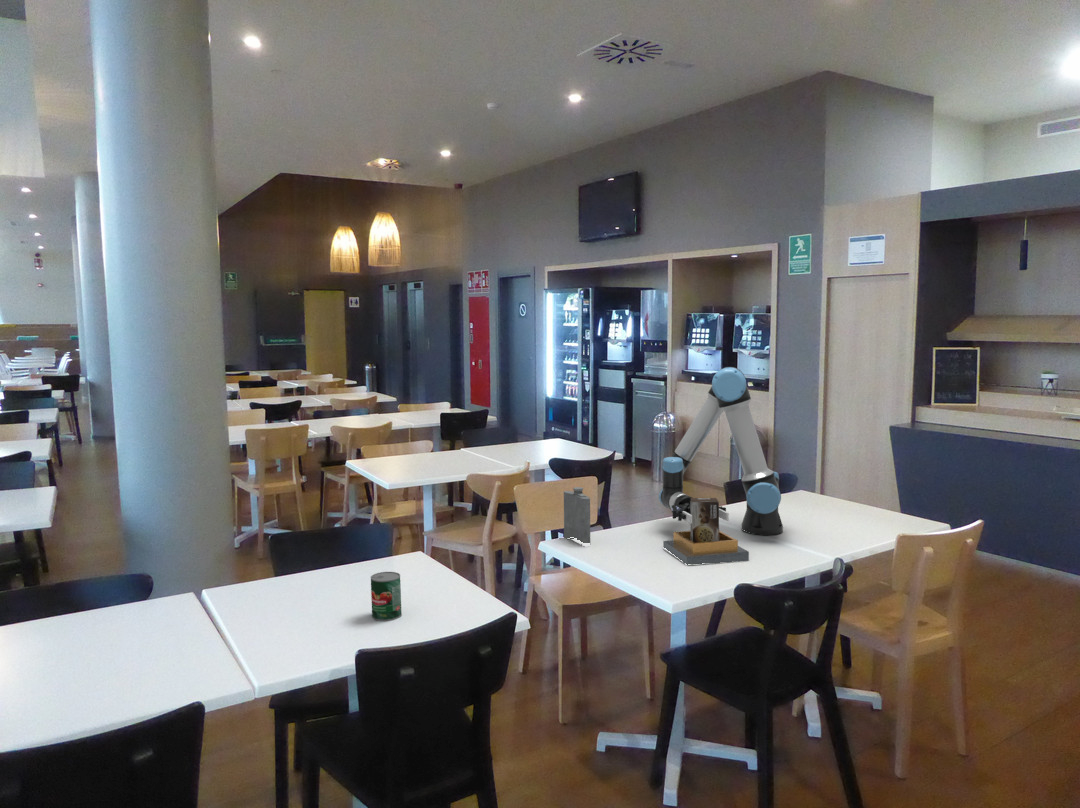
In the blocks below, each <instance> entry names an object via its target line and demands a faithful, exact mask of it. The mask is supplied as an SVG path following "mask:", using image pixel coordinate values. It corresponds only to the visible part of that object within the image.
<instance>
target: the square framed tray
mask: <svg viewBox="0 0 1080 808" xmlns="http://www.w3.org/2000/svg"><path fill="white" fill-rule="evenodd" d="M690 539H691V533H690V530H685V531H684V530H682V531H673V539H672V540H671V539H669V540H663V546H662V547H664V548H666V549H667V550H668V551H670V552H671V553H672V554H674V555H675V556H676V557H678V558H679V559H680V560H682V561H683V562H684V563H686V564H687V565H688V564H702V563H715V564H721V563H720V562H727V563H733V562H732V561H738V562H747V561H750V552H749V550H746V549H744V548H743V547H741V546H739V541H738V539H736V538H734V537H732V536H730V535H728V534H726V533H725V532H723V531H721V530H719V541H713V542H701V543H694V542H692V541H691V540H690ZM684 563H683V564H684Z"/></svg>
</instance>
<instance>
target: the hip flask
mask: <svg viewBox="0 0 1080 808" xmlns="http://www.w3.org/2000/svg"><path fill="white" fill-rule="evenodd" d="M572 490H573V491H572ZM572 490H565V491H563V538H564V539H565V538H570V537H574V538H577V540H580V541H581V542H583V543H590V544H591V497H590V496H588V495H586V494H584V492H583V491H584V487H581V486H579V487H577V486H576V487H573V488H572ZM574 538H570V539H574Z"/></svg>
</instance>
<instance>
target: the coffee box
mask: <svg viewBox="0 0 1080 808" xmlns="http://www.w3.org/2000/svg"><path fill="white" fill-rule="evenodd" d="M719 507H720V501H719V500H718V499H717V498H716V497H692V498H690V514H691V515H692V523H691V524H690V523H689V525H690V530H689V531H690V533H691V539H690V540H691V541H692V542H694V543H701V542H713V541H719V531H720V517H719Z"/></svg>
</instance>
